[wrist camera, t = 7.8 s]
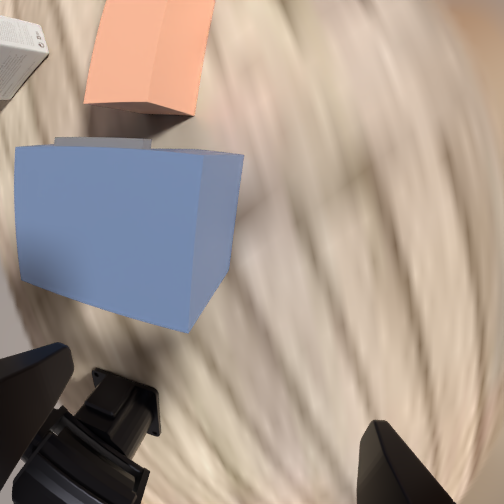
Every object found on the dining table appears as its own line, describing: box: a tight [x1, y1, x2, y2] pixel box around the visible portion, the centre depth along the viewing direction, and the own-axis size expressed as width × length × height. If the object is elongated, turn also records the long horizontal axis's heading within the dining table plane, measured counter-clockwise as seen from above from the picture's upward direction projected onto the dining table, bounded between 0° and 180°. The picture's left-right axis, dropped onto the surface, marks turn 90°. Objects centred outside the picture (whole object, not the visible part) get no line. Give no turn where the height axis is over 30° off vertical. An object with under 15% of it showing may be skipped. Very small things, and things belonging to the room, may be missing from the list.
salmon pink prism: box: [84, 0, 215, 116], centre depth 12 cm, size 13×4×6 cm, turn 172°
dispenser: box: [14, 137, 244, 333], centre depth 15 cm, size 7×10×8 cm
